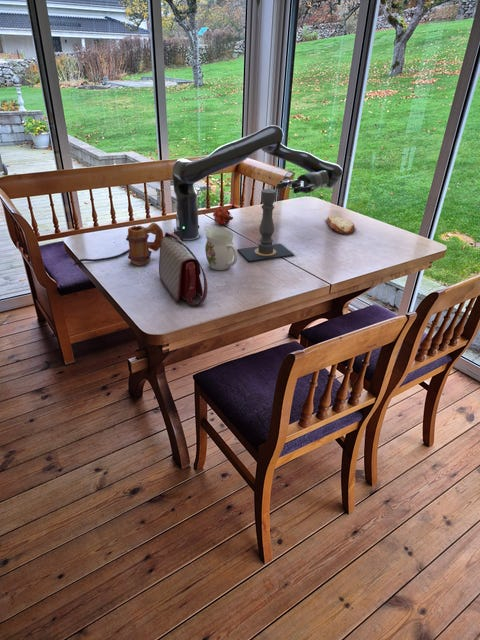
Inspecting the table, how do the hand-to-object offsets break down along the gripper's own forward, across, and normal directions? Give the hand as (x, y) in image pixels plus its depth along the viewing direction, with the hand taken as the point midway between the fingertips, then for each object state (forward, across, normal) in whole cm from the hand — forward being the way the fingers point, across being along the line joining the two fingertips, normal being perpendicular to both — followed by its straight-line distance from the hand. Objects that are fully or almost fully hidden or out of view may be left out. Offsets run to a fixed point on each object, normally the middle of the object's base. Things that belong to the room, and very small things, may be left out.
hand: (285, 188), depth 182 cm
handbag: (+57, +2, +25) cm, 62 cm away
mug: (+51, -27, +25) cm, 63 cm away
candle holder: (+11, 0, +24) cm, 26 cm away
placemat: (+11, 0, +25) cm, 27 cm away
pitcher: (+34, -2, +25) cm, 42 cm away
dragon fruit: (-3, -39, +25) cm, 47 cm away
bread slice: (-40, +3, +25) cm, 47 cm away
